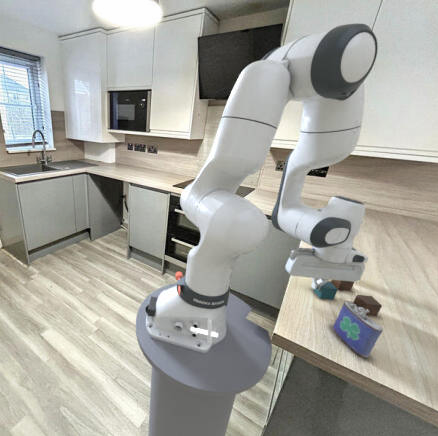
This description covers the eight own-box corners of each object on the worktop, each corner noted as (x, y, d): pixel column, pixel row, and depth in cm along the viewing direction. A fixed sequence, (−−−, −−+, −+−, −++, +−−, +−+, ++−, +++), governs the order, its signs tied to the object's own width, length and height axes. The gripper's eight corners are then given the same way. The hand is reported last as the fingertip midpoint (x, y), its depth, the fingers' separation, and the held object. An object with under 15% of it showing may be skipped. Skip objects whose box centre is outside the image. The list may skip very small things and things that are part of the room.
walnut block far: (337, 289, 78) (341, 279, 76) (330, 282, 81) (334, 272, 80) (350, 291, 77) (355, 281, 76) (342, 283, 81) (346, 273, 79)
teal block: (319, 298, 73) (323, 288, 72) (313, 290, 77) (316, 280, 76) (333, 300, 73) (337, 289, 71) (326, 291, 77) (330, 281, 75)
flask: (370, 358, 55) (389, 323, 51) (359, 359, 54) (377, 324, 50) (338, 326, 63) (352, 294, 59) (328, 327, 63) (341, 295, 59)
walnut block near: (361, 314, 67) (366, 303, 66) (351, 304, 71) (356, 294, 70) (376, 316, 67) (382, 305, 65) (366, 306, 71) (371, 295, 69)
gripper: (298, 252, 67) (285, 291, 73) (374, 258, 65) (356, 298, 71) (288, 242, 73) (277, 278, 78) (358, 248, 71) (342, 285, 77)
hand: (315, 288), depth 75 cm, fingers closed
